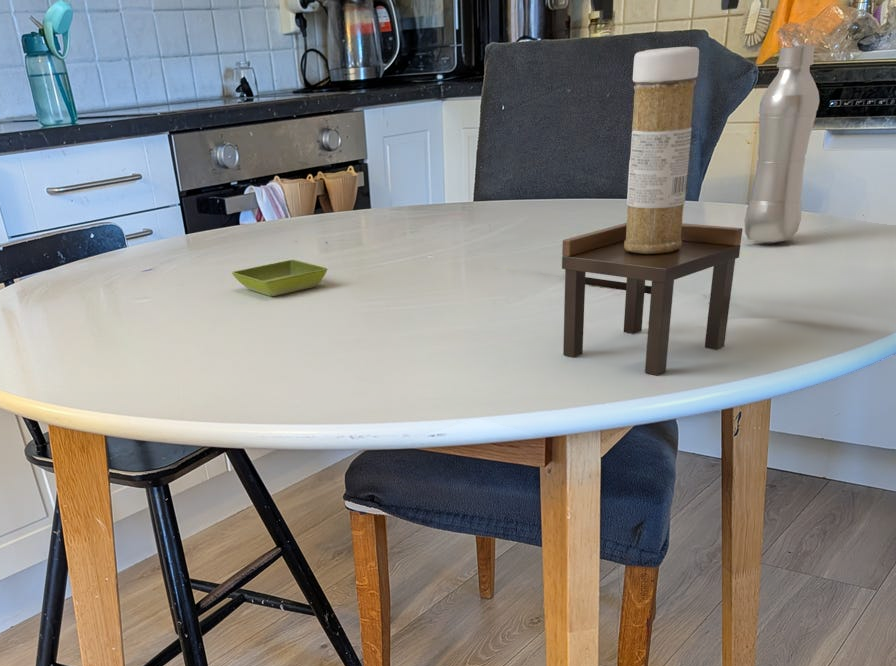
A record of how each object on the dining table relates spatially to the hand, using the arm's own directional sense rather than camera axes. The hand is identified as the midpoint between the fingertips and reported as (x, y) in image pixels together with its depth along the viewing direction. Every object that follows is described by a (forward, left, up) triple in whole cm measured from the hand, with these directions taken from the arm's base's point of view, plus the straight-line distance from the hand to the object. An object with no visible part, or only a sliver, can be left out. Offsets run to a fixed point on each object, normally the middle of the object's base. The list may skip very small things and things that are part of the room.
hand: (667, 15), depth 61 cm
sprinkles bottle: (0, 0, -16) cm, 16 cm away
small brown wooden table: (0, 0, -23) cm, 23 cm away
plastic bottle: (+14, -45, -24) cm, 53 cm away
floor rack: (+16, -22, -23) cm, 36 cm away
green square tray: (+50, +3, -24) cm, 55 cm away
